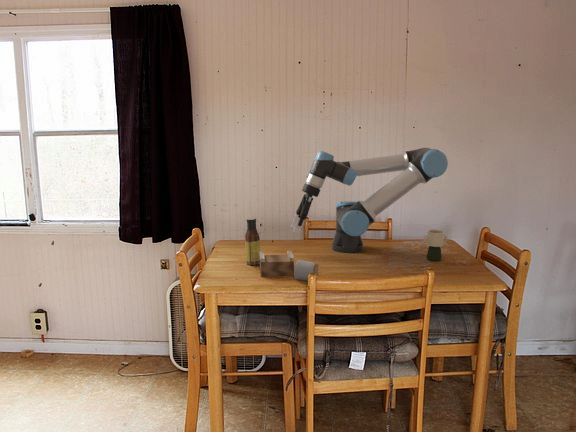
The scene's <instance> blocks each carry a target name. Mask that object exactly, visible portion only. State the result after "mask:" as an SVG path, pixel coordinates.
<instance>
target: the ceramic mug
mask: <svg viewBox="0 0 576 432" xmlns="http://www.w3.org/2000/svg"><path fill="white" fill-rule="evenodd" d="M310 273H314V274H316V275H317V277H318V275H319V265H318V264H317V263H316V262H313V261H307V260H303V259H297V261H296V263H295V264H294V276H293V277H294V279H295V280H297V281H307V280H308V275H309V274H310ZM307 282H308V281H307Z"/></svg>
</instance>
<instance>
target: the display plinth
mask: <svg viewBox="0 0 576 432" xmlns="http://www.w3.org/2000/svg"><path fill="white" fill-rule="evenodd" d="M286 251H287V254H264V251H260V264H259V273H260V277H261V278H270V277H275V278H276V277H294V270H295V257H294V254H293V252H292V250H286Z"/></svg>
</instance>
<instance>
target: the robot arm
mask: <svg viewBox="0 0 576 432" xmlns="http://www.w3.org/2000/svg"><path fill="white" fill-rule="evenodd" d="M334 158H335V156H334V155H333V154H331V153H330V152H329V153H328V152H326V151H323V150H319V151H318V152H317V153H316V156H315V157H314V159H313V162H312V165H311V168H310V170H309V172H308V175H306V180H305V183H304V184H303V187H302V189H301V191H302V192H304V193H305V194H303V197H302V199H301V201H300V203H299V205H298V208H297V210H296V214H295V215H294V218H293V220H292V223H291V225H290V228H291V229H293V233H295V234H298V235H300V233H301V230H302V228H303V225H304V224H305V221H306V219H308V215H309V212H310V209H311V206H312V203H313V200H314V198H313V197H315V198H318V197H319V195H320V192H321V189H322V188H323V185H324V183H325V180H326V178H329V179H332V180H334V181H337V182H339V183H342V184H343V185H346V186H348V187H349V186H352V185H353V184H354V182H355V180H356V177H361V176H369V175H378V174H386V173H395V172H400V171H401V172H400V173H399V174H398V175H396V176H395V177H394V178H392V179H391V180H390V181H389V182H387V183H385V185H383V186H382V187H381V188H379V189H378V190H377V191H375V192H374V193H373V194H371V195H369V197H367V198H366V199H365V200H357V201H356V200H355V201H352V200H350V201H349V200H345V201H344V200H342V201H337V202H336V207H335V211H336V212H335V215H336V216H335V234H334V237H333V239H332V241H331V249H332V250H333V251H335V252H340V253H358V252H362V251H363V250H364V241H363V238H362V235H364V234H365V233H366V232H367V231H368V229H369V227H370V226H371V225H372V224H374V223H375V222H376V218H377V216H378V215H380V213H382V212H384V211H385V210H386V209H388V208H389V207H390V206H391V205H393V204H394V203H395V202H396V201H398V200H400V199H401V198H402V197H404V196H405V195H406V194H408V193H409V192H410V191H412V190H413V189H414V188H416V187H417V186H418V185H420V184H423V185H424V184H427V183H428V182H429V181H430V180H432V179H434V178H438V177H441V176H442V175H444V174H445V172H446V171H447V169H448V165H449V161H448V157H447V156H446V154H445V153H444V152H442V151H441V150H439V149H436V148H430V147H421V148H417V149H411V150H408V151H407V150H406V151H402V153H401V154H393V155H385V156H377V157H370V158H362V159H355V160H354V159H353V160H348V161H335V160H334Z"/></svg>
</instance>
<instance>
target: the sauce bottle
mask: <svg viewBox="0 0 576 432" xmlns="http://www.w3.org/2000/svg"><path fill="white" fill-rule="evenodd" d="M246 223H247V224H246V226H247V227H246V228H247V229H246V231H245V234H244V237H245V240H244V244H245V247H244V248H245V261H246V264H247V265H249V266H257V265H260V252H261V237H260V234H259V233H258V230H257V218H256V217H247V218H246Z"/></svg>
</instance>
